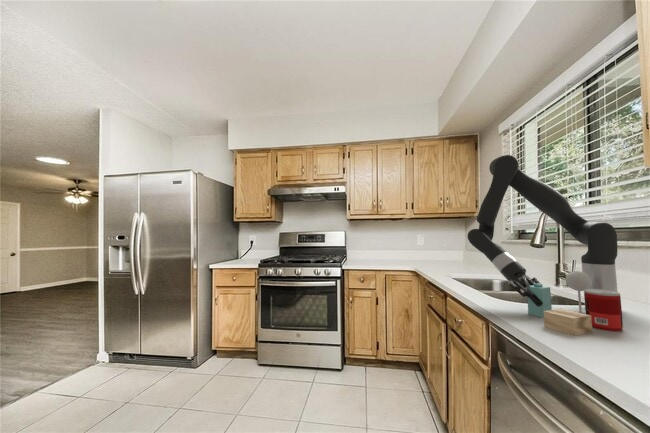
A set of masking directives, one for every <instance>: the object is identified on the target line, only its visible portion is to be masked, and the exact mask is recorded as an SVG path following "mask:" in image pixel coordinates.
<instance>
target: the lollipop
mask: <svg viewBox="0 0 650 433" xmlns="http://www.w3.org/2000/svg"><path fill="white" fill-rule="evenodd" d="M565 284H566V285H567V286H568V287H569V288H570V289H571V290H574V291H577V298H578V299H577V300H578V310H579V312H578V313H582V314H583V308H582V299H581V298H582V296H581V292H584V290H585V289H589V288H590V287H591V285H592V281H591V278H590V277H589V276H588V275H587V274H585V273H583V272H582V271H577V270H576V271H571V272H569V273H567V274H566V276H565Z"/></svg>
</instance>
